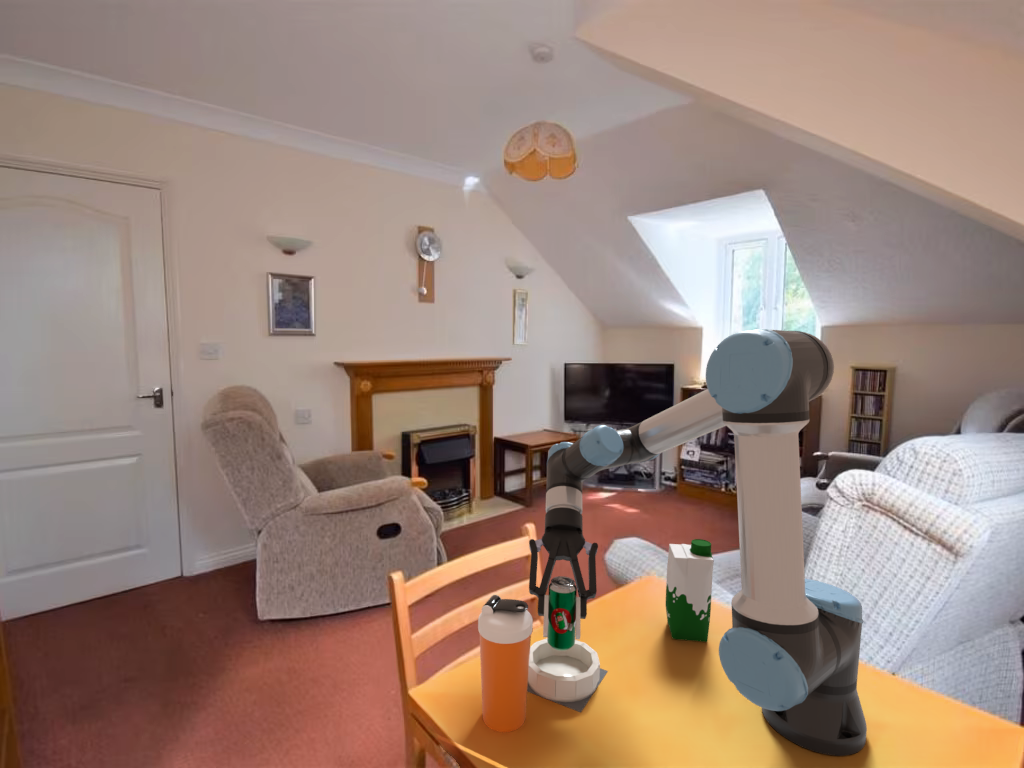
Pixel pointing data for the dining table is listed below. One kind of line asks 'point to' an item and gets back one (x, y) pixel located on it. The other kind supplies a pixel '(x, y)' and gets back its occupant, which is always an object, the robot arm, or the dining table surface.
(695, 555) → the milk carton
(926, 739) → the dining table surface
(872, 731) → the dining table surface
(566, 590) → the soda can
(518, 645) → the shaker bottle
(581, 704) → the mat
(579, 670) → the bowl
